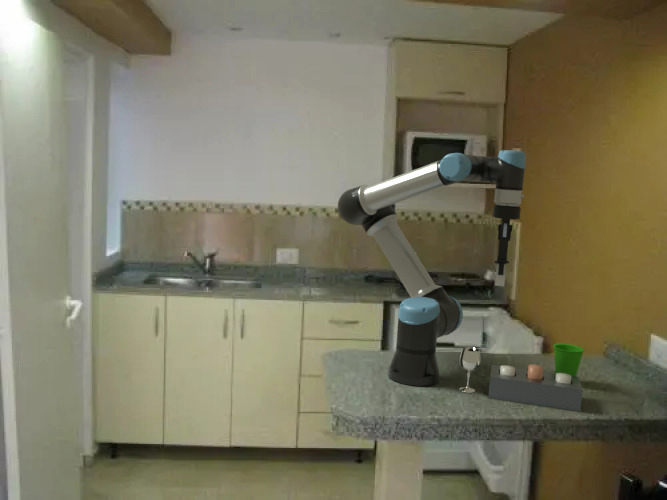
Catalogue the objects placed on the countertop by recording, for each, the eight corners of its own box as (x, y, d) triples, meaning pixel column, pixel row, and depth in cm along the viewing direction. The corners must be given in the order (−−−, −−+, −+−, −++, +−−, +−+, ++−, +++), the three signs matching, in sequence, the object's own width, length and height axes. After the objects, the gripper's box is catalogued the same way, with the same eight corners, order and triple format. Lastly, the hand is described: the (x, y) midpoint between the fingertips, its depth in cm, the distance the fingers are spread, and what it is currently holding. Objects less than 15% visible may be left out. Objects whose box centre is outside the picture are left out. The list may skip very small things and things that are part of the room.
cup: (582, 389, 193) (587, 353, 191) (551, 385, 195) (555, 349, 193) (577, 379, 202) (581, 345, 200) (547, 376, 203) (551, 342, 202)
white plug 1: (498, 392, 183) (500, 368, 182) (498, 388, 187) (500, 364, 186) (512, 394, 182) (515, 370, 181) (512, 390, 186) (515, 366, 185)
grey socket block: (488, 397, 180) (490, 376, 179) (489, 384, 191) (491, 364, 190) (580, 411, 174) (582, 389, 173) (575, 397, 185) (578, 376, 184)
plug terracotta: (526, 391, 181) (528, 367, 180) (525, 387, 185) (528, 363, 184) (541, 393, 180) (543, 369, 179) (540, 389, 184) (543, 365, 183)
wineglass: (465, 394, 181) (469, 352, 180) (452, 387, 186) (456, 347, 185) (481, 392, 184) (485, 351, 182) (468, 385, 189) (472, 345, 187)
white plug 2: (553, 400, 179) (556, 376, 178) (553, 396, 183) (555, 372, 182) (569, 402, 178) (572, 378, 177) (567, 398, 182) (570, 374, 181)
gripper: (521, 206, 179) (512, 290, 182) (520, 204, 192) (512, 283, 195) (493, 204, 181) (485, 287, 184) (494, 203, 194) (487, 280, 197)
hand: (499, 285), depth 189 cm, fingers closed
